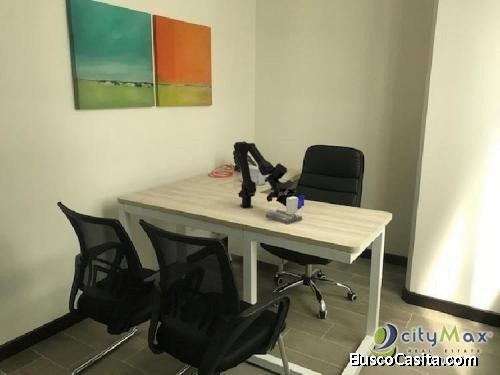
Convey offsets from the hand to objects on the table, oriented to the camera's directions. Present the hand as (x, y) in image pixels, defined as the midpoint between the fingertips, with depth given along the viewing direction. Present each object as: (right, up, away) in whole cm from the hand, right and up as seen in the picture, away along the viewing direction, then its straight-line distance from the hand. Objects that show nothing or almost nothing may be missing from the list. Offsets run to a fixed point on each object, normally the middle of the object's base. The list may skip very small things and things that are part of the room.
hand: (289, 207), depth 215 cm
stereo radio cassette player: (-19, +14, +93) cm, 95 cm away
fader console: (-3, -6, +4) cm, 8 cm away
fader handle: (+1, -5, 0) cm, 5 cm away
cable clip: (+8, -2, +28) cm, 29 cm away
